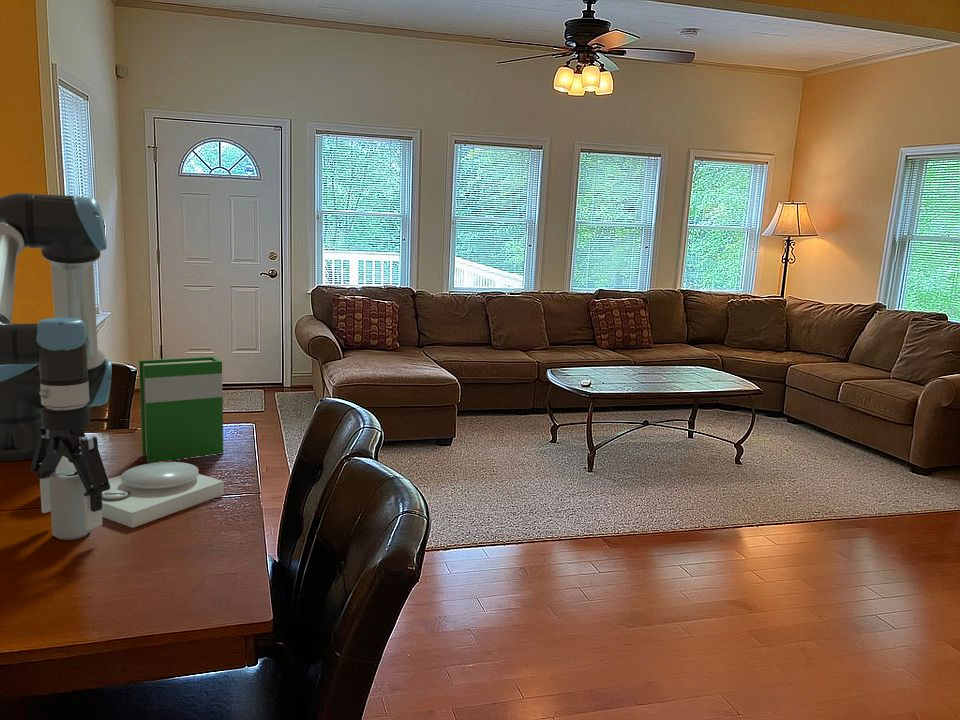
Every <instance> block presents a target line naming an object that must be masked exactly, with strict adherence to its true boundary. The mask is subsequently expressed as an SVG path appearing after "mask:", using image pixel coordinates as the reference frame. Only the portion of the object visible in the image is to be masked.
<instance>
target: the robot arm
mask: <svg viewBox="0 0 960 720" xmlns="http://www.w3.org/2000/svg"><path fill="white" fill-rule="evenodd" d="M106 235H107V234H106V229H105V224H104V218H103V213H102V210H101V206H100V203H99V202H98V201H97V200H96V199H95V198H93V197H86V196H85V197H84V196H77V195H61V194H41V193H27V192H17V193H16V192H15V193H10V194H7V195H2V196H1V197H0V462H16V461H23V460H30V459H32V462H31V466H30V471H31V473H36V476H37V478H39V487H40V488H39V489H40V503H41V505H40V506H41V513H42V514H46V513H49V512H50V513H51V505H50V489H49V481H50V479H51V478H52V477H51V474H52V473H53V472H55V471H56V470H55V469H56V467H57V465H58V464H59V462H60V460H61V458H62V456H64V457H66V458H68V460H69V462H71V463H73V464H74V466H75V468H76V471H77V473H78V475H79V477H80V479H81V481H82V483H83V485H84V487H85V489H86V491H87V492H86V493H84V494H83V495H84V508H85V529H87V530H89V529H91V530H92V529H95V528H97V527H98V528H99V527H101V526H103V517H102V492H103V491H107V490H109V489H110V484H109V481H108V479H109V478H108V476H107V472H106V469H105V466H104V463H103V460H102V457H101V454H100V450H99V444H98V438H97V436H96V435H95V436H90V437H89V436H88V437H86V433H85V428H86V427H88V426H89V425H90V424H91V409H90V408H91V407H100V406H104V405H105V404H106V403H108V402H109V398H110V393H111V392H110V391H111V385H112V373H113V372H112V370H113V369H112V368H113V367H112V364H113V363H112V360H110V359H106V355H105V353H104V352H103V351H102V350H101V349H99V348H98V331H97V330H98V329H97V313H96V311H97V309H96V292H95V290H96V289H95V272H94V271H95V268H94V267H95V266H94V263H95V262H97V261H98V260H99V259H100V258H101V251H105V250H107V248H108V244H107V237H106ZM24 248H29V249H30V248H31V249H32V248H33V249H41V256H42V258H44V259H45V260H46V261H47V262H49V263H50V272H51V284H52V285H51V286H52V287H51V288H52V299H53V300H52V301H53V310H54V317H49V318H44V319H43V318H42V319H40V320H39V321H38V322H37V323H36V322H35V323H34V322H33V323H12V322H13V321H12V320H13V313H14V312H13V309H14V298H15V285H16V275H17V265H18V264H17V263H18V255H21V253H22V252H23V250H24ZM80 453H82V454H80ZM39 463H42V464H39ZM102 484H103V485H102ZM91 485H92V486H91Z"/></svg>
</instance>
